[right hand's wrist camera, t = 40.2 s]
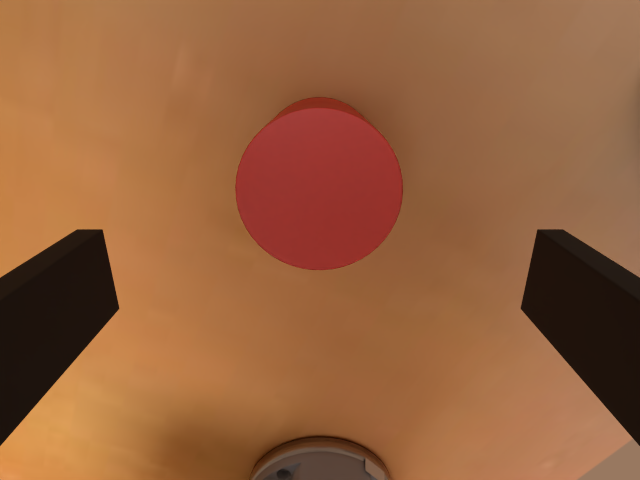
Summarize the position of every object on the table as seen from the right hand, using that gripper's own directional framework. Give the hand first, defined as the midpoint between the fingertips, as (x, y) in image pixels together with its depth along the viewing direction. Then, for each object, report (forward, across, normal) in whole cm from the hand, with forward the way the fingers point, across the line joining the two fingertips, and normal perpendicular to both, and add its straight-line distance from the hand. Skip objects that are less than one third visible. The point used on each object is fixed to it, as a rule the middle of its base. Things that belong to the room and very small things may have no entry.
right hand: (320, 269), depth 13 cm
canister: (+19, 0, 0) cm, 19 cm away
